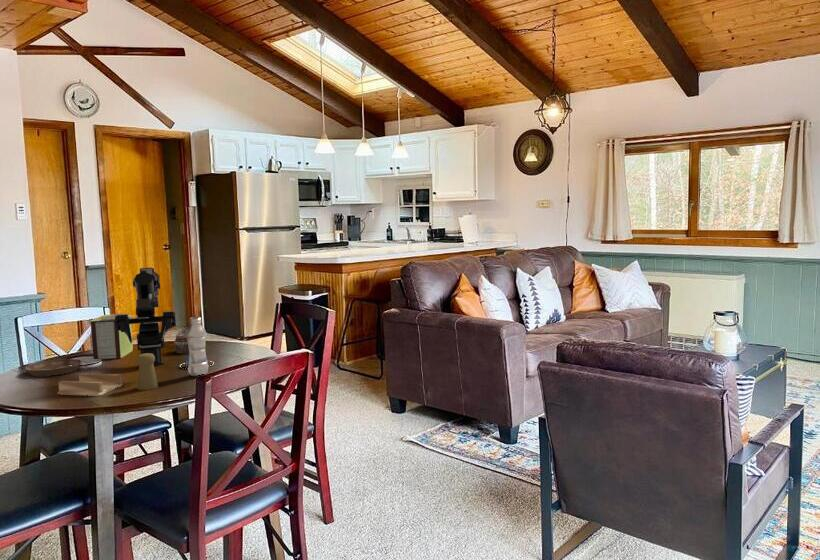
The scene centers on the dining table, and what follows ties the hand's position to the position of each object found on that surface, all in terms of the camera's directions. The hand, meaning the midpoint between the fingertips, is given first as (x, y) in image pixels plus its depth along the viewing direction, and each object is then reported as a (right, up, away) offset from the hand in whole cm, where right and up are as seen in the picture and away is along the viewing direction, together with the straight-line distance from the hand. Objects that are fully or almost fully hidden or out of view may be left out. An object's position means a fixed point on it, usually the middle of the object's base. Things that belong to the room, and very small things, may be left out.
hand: (146, 341), depth 202 cm
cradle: (-14, -15, -8) cm, 22 cm away
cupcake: (-3, -9, +46) cm, 47 cm away
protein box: (-31, -10, +43) cm, 54 cm away
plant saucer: (-40, -13, +17) cm, 46 cm away
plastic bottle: (+15, -13, +7) cm, 21 cm away
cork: (+3, -14, -7) cm, 16 cm away
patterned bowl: (+9, -12, +22) cm, 27 cm away
